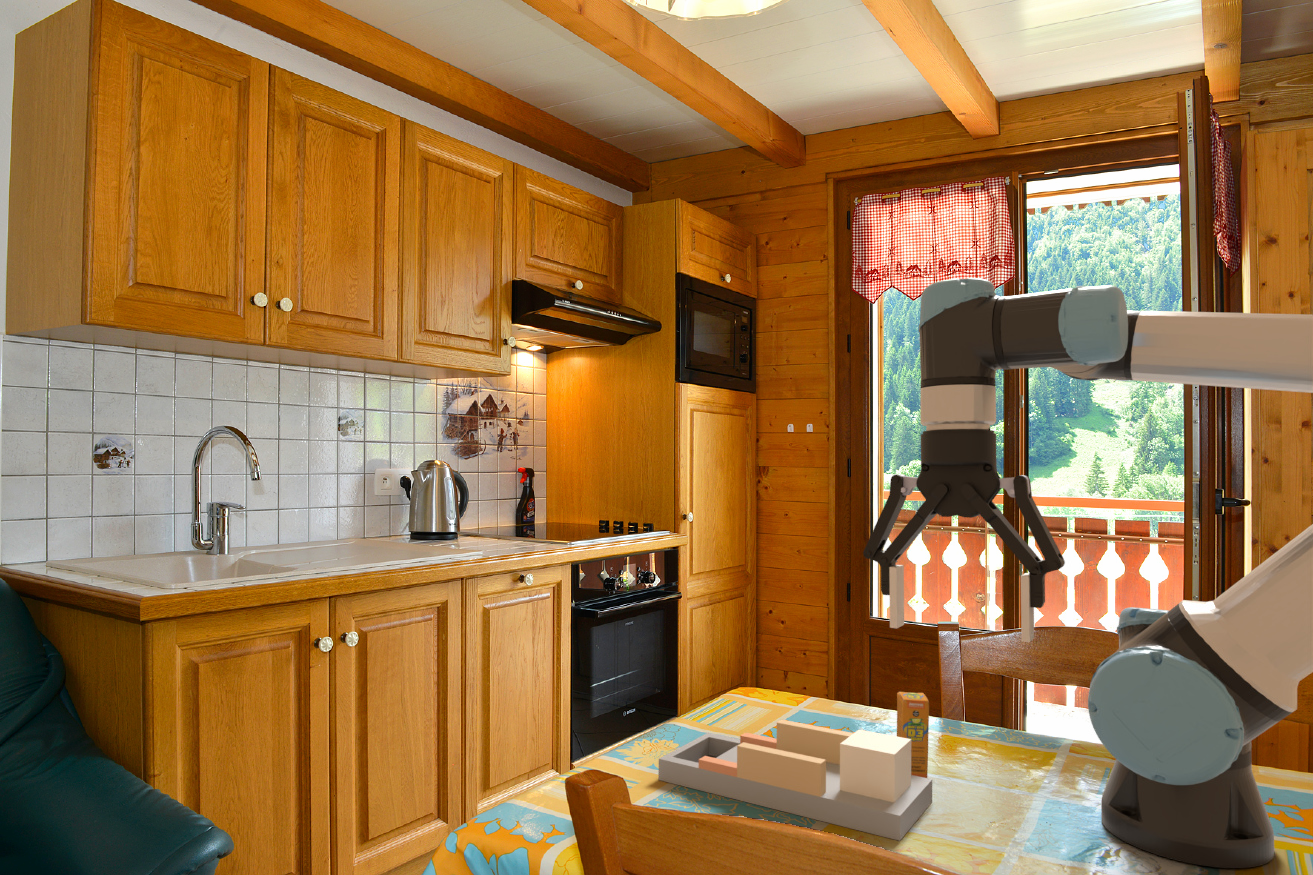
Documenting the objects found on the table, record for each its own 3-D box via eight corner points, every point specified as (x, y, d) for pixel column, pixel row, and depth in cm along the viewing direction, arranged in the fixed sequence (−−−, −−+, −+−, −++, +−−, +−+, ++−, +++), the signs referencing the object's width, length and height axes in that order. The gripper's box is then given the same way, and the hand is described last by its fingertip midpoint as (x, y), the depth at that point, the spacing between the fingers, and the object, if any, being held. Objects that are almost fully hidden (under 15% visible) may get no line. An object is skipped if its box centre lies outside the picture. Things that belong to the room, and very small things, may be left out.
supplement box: (900, 782, 101) (900, 698, 102) (895, 772, 105) (895, 690, 105) (929, 784, 101) (929, 699, 101) (923, 773, 105) (923, 691, 105)
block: (911, 784, 94) (911, 739, 94) (894, 802, 89) (894, 754, 89) (858, 773, 97) (858, 729, 98) (839, 789, 92) (840, 743, 93)
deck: (932, 801, 96) (932, 747, 96) (900, 840, 86) (900, 780, 86) (707, 751, 112) (708, 705, 112) (658, 779, 102) (659, 729, 102)
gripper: (1092, 427, 86) (1095, 639, 85) (856, 432, 100) (858, 616, 99) (1083, 424, 80) (1087, 653, 79) (833, 429, 93) (834, 626, 92)
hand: (959, 633), depth 89 cm, fingers open, 12 cm apart
